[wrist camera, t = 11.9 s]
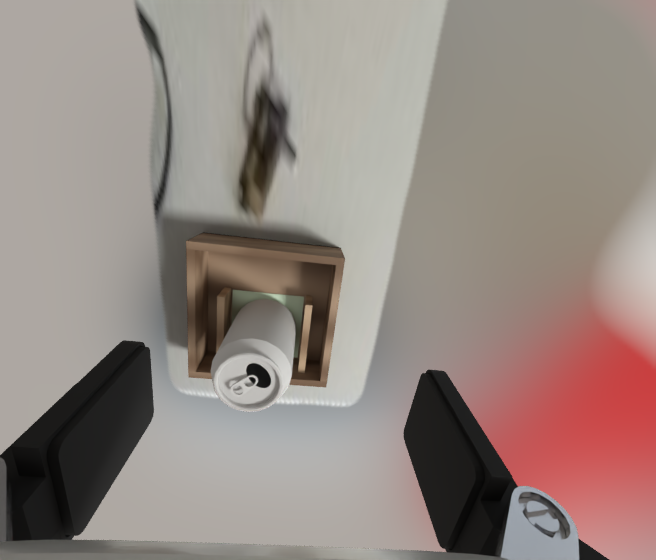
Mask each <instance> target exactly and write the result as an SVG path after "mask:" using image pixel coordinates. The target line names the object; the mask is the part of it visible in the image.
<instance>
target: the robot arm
mask: <svg viewBox="0 0 656 560" xmlns="http://www.w3.org/2000/svg"><path fill="white" fill-rule="evenodd" d="M153 413H154V407H153V390H152V375H151V359H150V349H149V348H148V347H145V345H144V343H143V342H135V341H122V342H121V343H120V344H118V345H117V346H116V347H115V348H114V349H113V350H112V351H111V352H110V353H109V354H108V355H107V356H106V357H105V358H104V359H102V360H101V361H100V362H99V363H98V364H97V365H96V366H95V367H94V368H93V369H92V370H91V371H90V372H89V373H88V374H87V375H86V376H85V377H83V378H82V379H81V380H80V381H79V382H78V383H77V384H75V385H74V386H73V387H72V388H71V389H70V390H69V391H68V392H67V393H66V394H65V395H64V396H63V397H62V398H61V399H59V400H58V401H57V402H56V403H55V404H54V405H53V406H52V407H51V408H50V409H49V410H48V411H47V412H46V413H45V414H43V415H42V416H41V417H40V418H39V419H38V420H37V421H36V422H35V423H34V424H33V425H32V426H31V427H30V428H29V429H28V430H27V431H25V433H23V434H22V435H21V436H20V437H19V438H18V439H17V440H16V441H15V442H14V443H13V444H12V445H11V446H10V447H9V448H7V449H6V450H5V451H4V452H3V453H2V454H1V455H0V560H609V559H607V558H606V557H604V556H603V555H601V554H600V553H598V552H597V551H596V550H594V549H593V548H591V547H590V546H588V545H587V544H585V543H584V542H582V541H581V540H580V539H578V533H577V528H576V526H575V524H574V522H573V520H572V518H571V517H570V516H569V514H568V513H567V512H566V511H565V509H564V508H563V507H562V506H560V504H559V503H558V502H557V501H555V500H554V499H553V498H551V497H550V496H549V495H547V494H546V493H544V492H542V491H540V490H538V489H536V488H532V487H528V486H519V487H518V486H517V485H516V483H515V482H514V480H513V478H512V475H511V474H510V472H509V471H508V469H507V468H506V466H505V465H504V463H503V461H502V460H501V458H500V457H499V455H498V454H497V452H496V450H495V449H494V447H493V446H492V444H491V443H490V441H489V439H488V438H487V436H486V435H485V433H484V432H483V430H482V428H481V427H480V425H479V424H478V422H477V421H476V419H475V418H474V416H473V414H472V413H471V411H470V410H469V408H468V407H467V405H466V403H465V402H464V400H463V399H462V397H461V396H460V394H459V392H458V391H457V389H456V388H455V386H454V385H453V383H452V381H451V380H450V378H449V377H448V375H447V374H446V372H444V371H437V370H427V371H426V373H423V374H422V375H421V377H420V380H419V383H418V386H417V390H416V393H415V396H414V399H413V402H412V406H411V409H410V412H409V415H408V419H407V422H406V425H405V428H404V440H405V444H406V446H407V449H408V453H409V456H410V459H411V461H412V465H413V468H414V471H415V474H416V477H417V480H418V483H419V486H420V488H421V491H422V494H423V497H424V500H425V503H426V506H427V509H428V512H429V515H430V518H431V521H432V524H433V527H434V530H435V533H436V536H437V539H438V542H439V544H440V546H441V547H442V548H444V549H446V552H433V551H414V550H390V549H366V548H365V549H364V548H341V547H313V546H286V545H285V546H284V545H257V544H226V543H193V542H192V543H191V542H157V541H122V540H72V538H73V537H74V535H75V536H76V535H79V534H81V533H82V532H83V530H84V529H85V528H86V526H87V524H88V523H89V521H90V519H91V518H92V516H93V515H94V513H95V511H96V510H97V508H98V507H99V505H100V503H101V501H102V500H103V498H104V497H105V495H106V494H107V492H108V490H109V489H110V487H111V485H112V484H113V482H114V480H115V479H116V477H117V476H118V474H119V473H120V471H121V469H122V468H123V466H124V464H125V462H126V461H127V460H128V458H129V456H130V454H131V453H132V451H133V450H134V448H135V447H136V445H137V443H138V442H139V440H140V439H141V437H142V435H143V434H144V432H145V430H146V429H147V427H148V425H149V424H150V422H151V420H152V417H153Z"/></svg>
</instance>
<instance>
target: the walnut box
mask: <svg viewBox="0 0 656 560" xmlns="http://www.w3.org/2000/svg"><path fill="white" fill-rule="evenodd" d="M186 257H187V315H188V373H189V377H192V378H206V379H212V376H211V366H212V361H213V359H214V357H215V355H216V353H217V351H218V349H219V347H220V346H221V344H222V342H223V340H224V338H225V336H226V334H227V332H228V331H229V329H230V327H231V325H232V323H233V321H234V319H235V318H236V316H237V314H238V313H239V311H240V309H241V308H243V307H244V306H245V305H246V304H247V303H250V302H252V301H255V300H260V299H269V300H273V301H277V302H279V303H281V304H282V305H284V306H286V308H287V309H288V310H289V311H290V312H291V313H292V315H293V317H294V319H295V323H296V335H295V346H294V357H293V367H292V377H291V380H290V384H289V385H302V386H315V387H326V384H327V377H328V371H329V364H330V357H331V350H332V343H333V336H334V330H335V323H336V316H337V309H338V302H339V296H340V289H341V282H342V275H343V268H344V262H345V258H344V255H343V253H342V250H341V248H335V247H326V246H317V245H309V244H300V243H291V242H282V241H273V240H264V239H256V238H247V237H238V236H229V235H220V234H211V233H201V234H199V235H197V236H195V237H193V238H191V239H189V240H187V241H186Z"/></svg>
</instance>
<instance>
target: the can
mask: <svg viewBox="0 0 656 560" xmlns="http://www.w3.org/2000/svg"><path fill="white" fill-rule="evenodd" d="M295 335H296V323H295V319H294V317H293V315H292V313H291V312H290V311H289V310H288V309H287V308H286V306H284V305H282V304H281V303H279V302H277V301H273V300H269V299H260V300H255V301H252V302H250V303H247V304H246V305H245V306H244V307H243V308H241V309H240V311H239V313H238V314H237V316H236V318H235V319H234V321H233V323H232V325H231V327H230V329H229V331H228V332H227V334H226V336H225V338H224V340H223V342H222V344H221V346H220V347H219V349H218V351H217V353H216V355H215V357H214V359H213V361H212V366H211V376H212V381H213V385H214V390H215V392H216V394H217V395H218V397H219V399H220V400H222V401H223V402H224V403H225V404H226V405H227V406H229V407H232V408H234V409H236V410H240V411H246V412H252V411H260V410H263V409H265V408H268V407H270V406H271V405H272V404H274V403H275V402H276V401H277V400H278V398H279V397H281V396H282V395H283V394H284V392H285V391H286V390H287V388H288V387H289V384H290V380H291V377H292V367H293V357H294V346H295Z"/></svg>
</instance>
